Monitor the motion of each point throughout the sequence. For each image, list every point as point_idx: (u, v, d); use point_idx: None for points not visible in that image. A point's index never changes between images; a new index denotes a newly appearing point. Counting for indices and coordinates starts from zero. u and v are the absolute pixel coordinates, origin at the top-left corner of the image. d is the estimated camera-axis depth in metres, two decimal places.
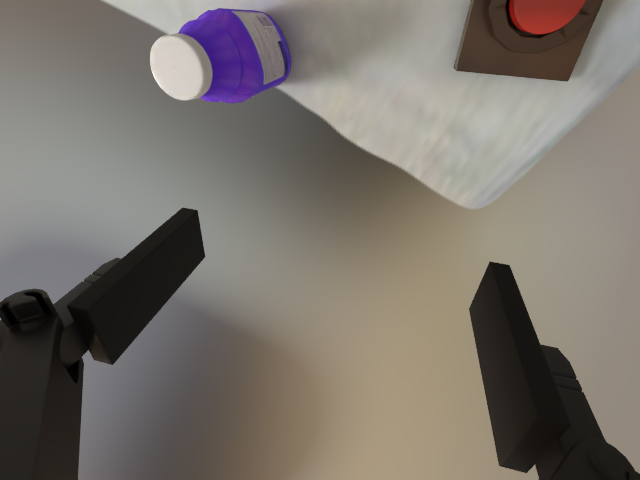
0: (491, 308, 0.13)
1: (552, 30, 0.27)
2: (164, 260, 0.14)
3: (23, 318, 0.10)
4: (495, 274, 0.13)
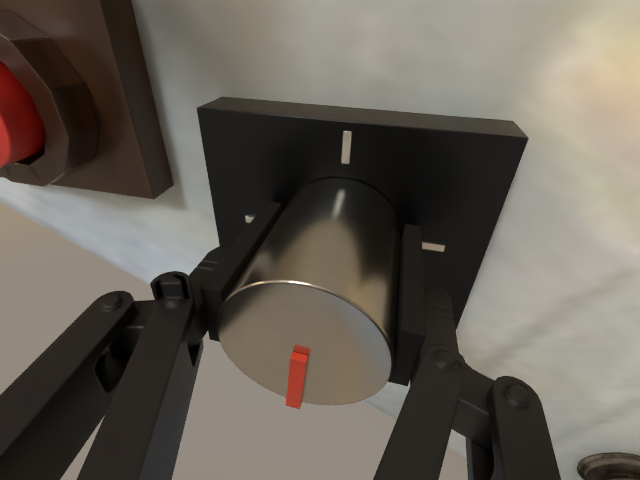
0: (400, 261, 0.15)
1: None
2: None
3: (168, 296, 0.11)
4: (406, 233, 0.15)
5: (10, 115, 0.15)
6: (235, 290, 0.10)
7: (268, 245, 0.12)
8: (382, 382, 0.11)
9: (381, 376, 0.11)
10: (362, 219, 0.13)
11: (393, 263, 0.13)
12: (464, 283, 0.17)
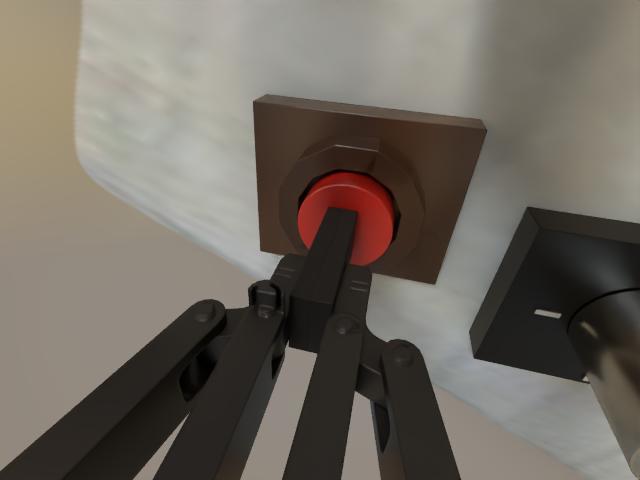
0: None
1: (302, 237, 0.18)
2: None
3: (262, 304, 0.11)
4: (342, 217, 0.16)
5: None
6: None
7: None
8: None
9: None
10: None
11: None
12: None
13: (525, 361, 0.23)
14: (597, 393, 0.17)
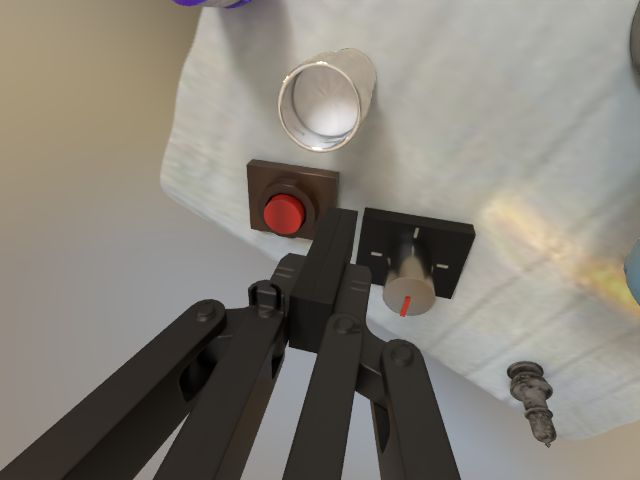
0: None
1: (266, 221, 0.44)
2: None
3: (262, 304, 0.11)
4: (342, 217, 0.16)
5: (301, 218, 0.43)
6: (393, 280, 0.39)
7: (396, 267, 0.40)
8: (431, 305, 0.40)
9: (431, 303, 0.39)
10: (423, 258, 0.41)
11: (432, 272, 0.41)
12: (454, 280, 0.46)
13: (375, 280, 0.49)
14: None
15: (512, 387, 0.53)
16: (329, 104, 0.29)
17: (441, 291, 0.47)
